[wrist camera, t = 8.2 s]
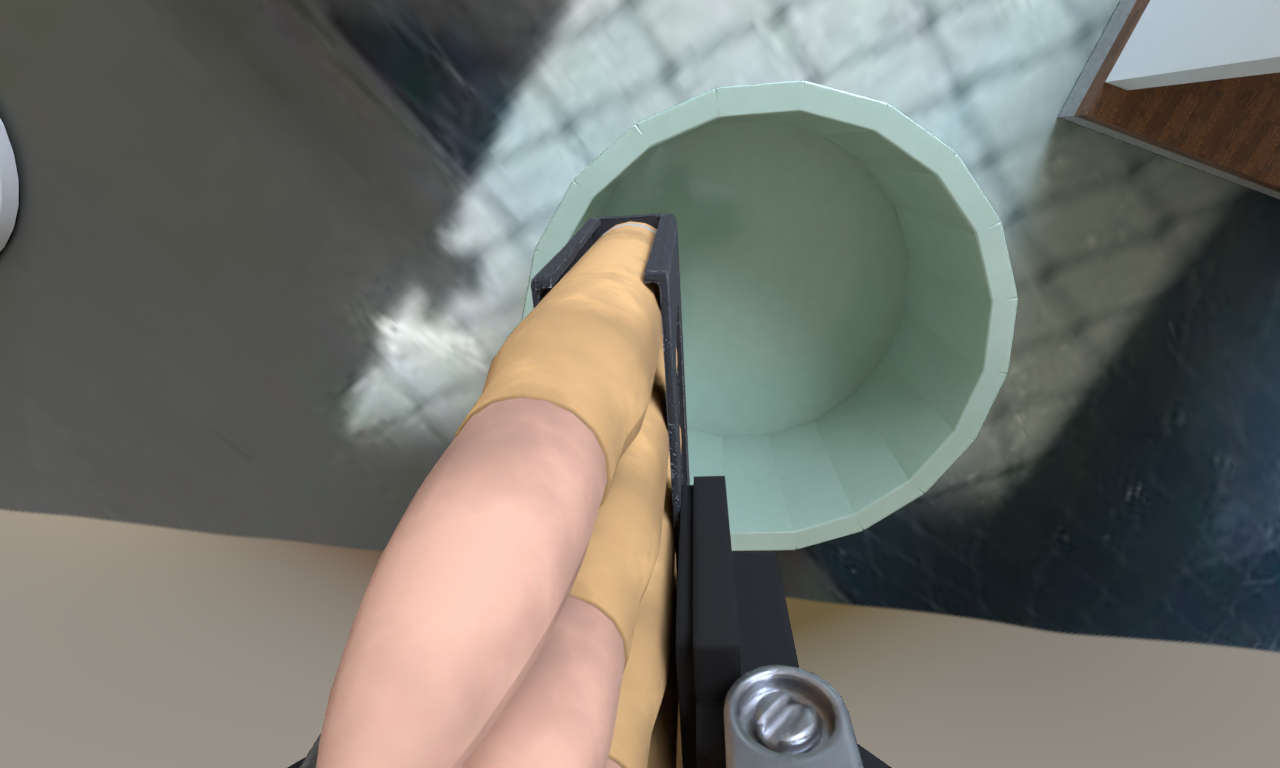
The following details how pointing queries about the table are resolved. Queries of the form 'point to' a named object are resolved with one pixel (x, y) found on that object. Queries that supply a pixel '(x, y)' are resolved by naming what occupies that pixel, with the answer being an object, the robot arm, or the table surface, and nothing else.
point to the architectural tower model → (1190, 85)
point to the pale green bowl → (815, 298)
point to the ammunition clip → (541, 542)
